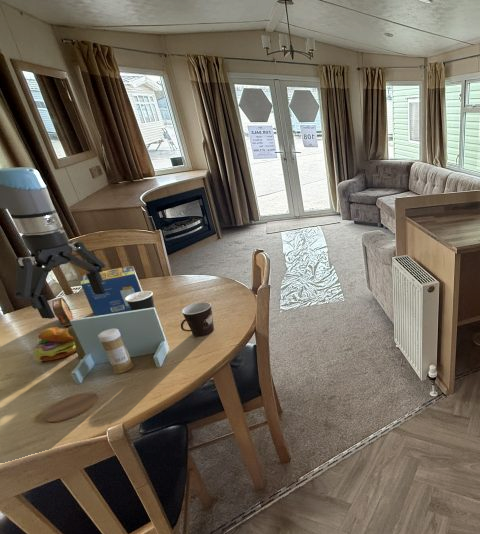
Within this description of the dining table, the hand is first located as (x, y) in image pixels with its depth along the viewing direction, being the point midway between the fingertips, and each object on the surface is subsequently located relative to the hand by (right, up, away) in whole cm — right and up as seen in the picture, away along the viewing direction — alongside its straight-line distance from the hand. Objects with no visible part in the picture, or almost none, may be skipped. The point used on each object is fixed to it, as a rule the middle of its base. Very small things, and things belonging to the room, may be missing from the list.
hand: (76, 304), depth 93 cm
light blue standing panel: (+3, -20, +12) cm, 24 cm away
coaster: (+3, -27, -4) cm, 27 cm away
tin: (-39, -10, +33) cm, 53 cm away
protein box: (-27, -7, +42) cm, 51 cm away
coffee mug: (+14, -14, +28) cm, 34 cm away
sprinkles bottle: (+4, -21, +10) cm, 24 cm away
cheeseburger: (-23, -18, +17) cm, 33 cm away
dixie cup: (-10, -10, +35) cm, 37 cm away
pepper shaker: (-13, -18, +17) cm, 28 cm away
